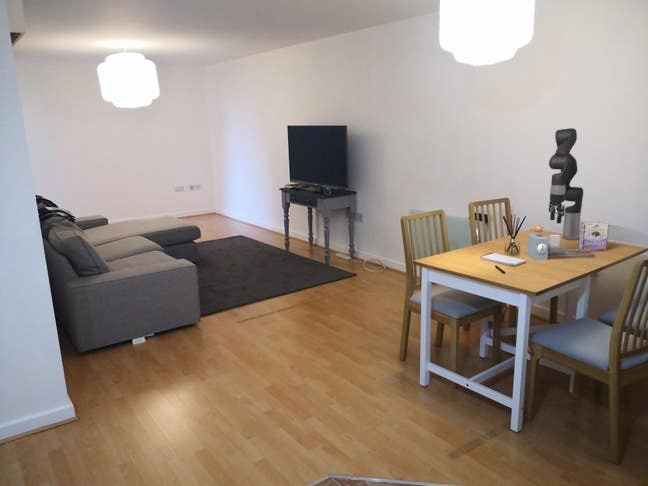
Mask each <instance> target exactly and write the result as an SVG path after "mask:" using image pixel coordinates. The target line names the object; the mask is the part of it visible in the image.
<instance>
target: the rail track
mask: <svg viewBox="0 0 648 486" xmlns="http://www.w3.org/2000/svg"><path fill="white" fill-rule="evenodd" d="M589 258H590V259H593V258H596V254H594V253H592V251H591V250H590V249H579V248H575V249H573V248H572V249H564V252H549V251H548V259H547V260H556V259H557V260H558V259H562V260H563V259H564V260H565V259H589Z"/></svg>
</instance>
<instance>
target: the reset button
mask: <svg viewBox="0 0 648 486" xmlns="http://www.w3.org/2000/svg"><path fill="white" fill-rule="evenodd" d="M543 228H544V226H543V225H534V232H535V233H542V232H543Z"/></svg>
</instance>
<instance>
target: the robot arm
mask: <svg viewBox="0 0 648 486" xmlns="http://www.w3.org/2000/svg"><path fill="white" fill-rule="evenodd" d="M577 132H578V131H577V130H576V128H574V127H573V128H571V127H570V128H562V129H557V130H556V131H555V133H554V135H555V137H554V138H555V143H556V150H555V153H554V154H553V155H551V157H550V159H549V162H548V166H549V168H550V169H551V170H560V172H558V173H553V174H552V175H551V185H550V191H549V202H548V203H549V205H548V212H549V213H550V216H549V217H550V218H549V219H550V221H555V219H556V224H561V223H562V220H563V229H562V239H563V240H567V241H570V240H571V241H576V240H579V237H580V225H581V215H582V214H581V213H582V208H583V207H582V206H583V199H584V198H583V197H584V189H583V187H580V186H571V184H570V183H571V181H572V180H573V179H574V177H575V176H576V174H577V173H578V163H577V159H576V158H575V156H573V155H572V154H571V151H572V149H573V148H574V146H575V144H576V142H577V140H578V135H577V134H578V133H577ZM564 202H573V203H574V204H573V205H570V206H569V205H568V206H565V205H564V204H563V205H562V203H564ZM563 217H564V219H562V218H563Z"/></svg>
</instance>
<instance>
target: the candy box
mask: <svg viewBox="0 0 648 486" xmlns="http://www.w3.org/2000/svg"><path fill="white" fill-rule="evenodd" d="M609 223H610V222H607V221H605V220H604V221H580V228H579V239H578V249H590V250H591V252H592V251H593V252H595V251H599V252H600V251H608V250H607V249H608V238H609V228H610V227H609V226H610V224H609Z"/></svg>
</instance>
